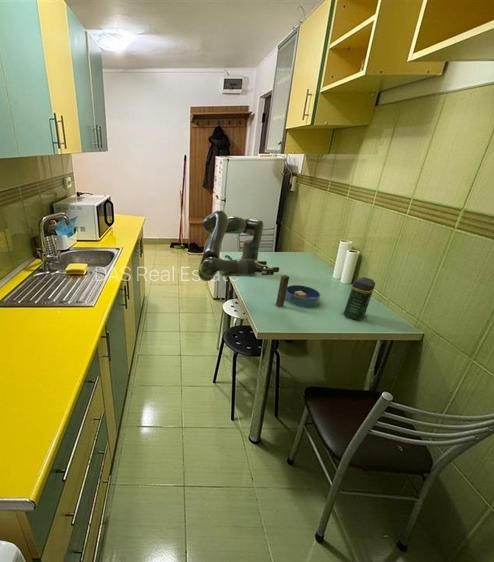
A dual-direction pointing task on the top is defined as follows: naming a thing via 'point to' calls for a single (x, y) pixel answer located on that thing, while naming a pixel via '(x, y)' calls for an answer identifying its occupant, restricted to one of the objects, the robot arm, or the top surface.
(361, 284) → the coffee jar
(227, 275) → the robot arm
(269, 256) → the top surface
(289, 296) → the bowl
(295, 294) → the block
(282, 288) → the stick
